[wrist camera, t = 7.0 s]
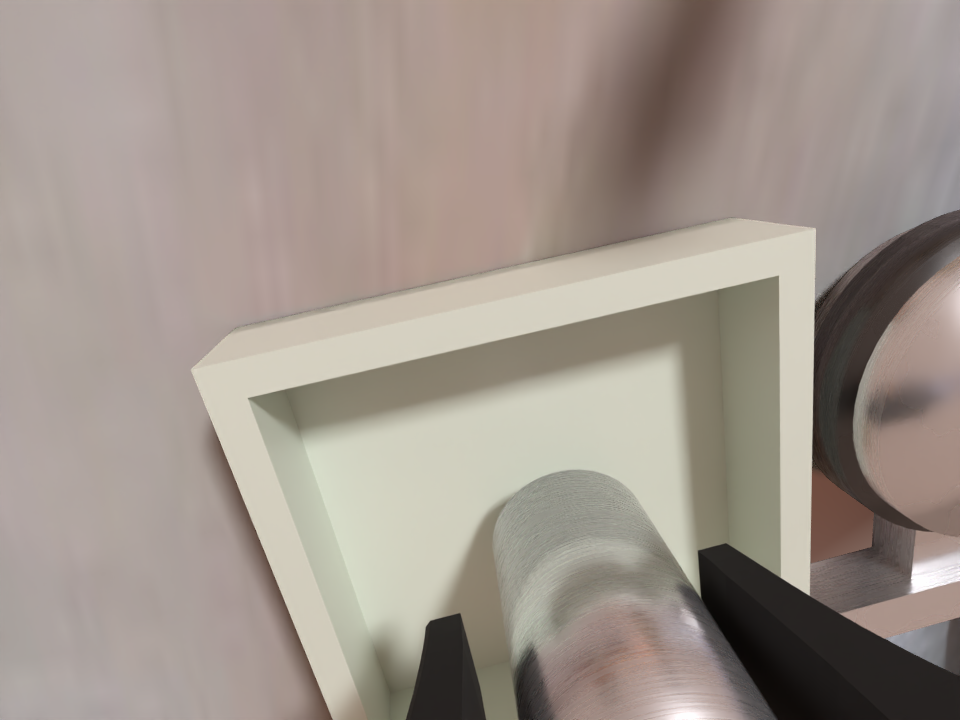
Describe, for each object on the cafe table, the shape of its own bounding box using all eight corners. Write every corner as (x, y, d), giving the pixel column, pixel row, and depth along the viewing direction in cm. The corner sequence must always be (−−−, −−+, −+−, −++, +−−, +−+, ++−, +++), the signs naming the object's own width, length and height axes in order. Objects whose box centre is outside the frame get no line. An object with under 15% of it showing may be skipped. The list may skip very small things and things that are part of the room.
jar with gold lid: (687, 452, 14) (1140, 934, 5) (650, 623, 15) (943, 1228, 6) (477, 442, 13) (555, 959, 4) (461, 620, 15) (494, 1270, 6)
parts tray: (731, 217, 14) (815, 228, 11) (745, 600, 18) (808, 677, 15) (235, 327, 13) (190, 369, 10) (371, 700, 17) (366, 802, 15)
